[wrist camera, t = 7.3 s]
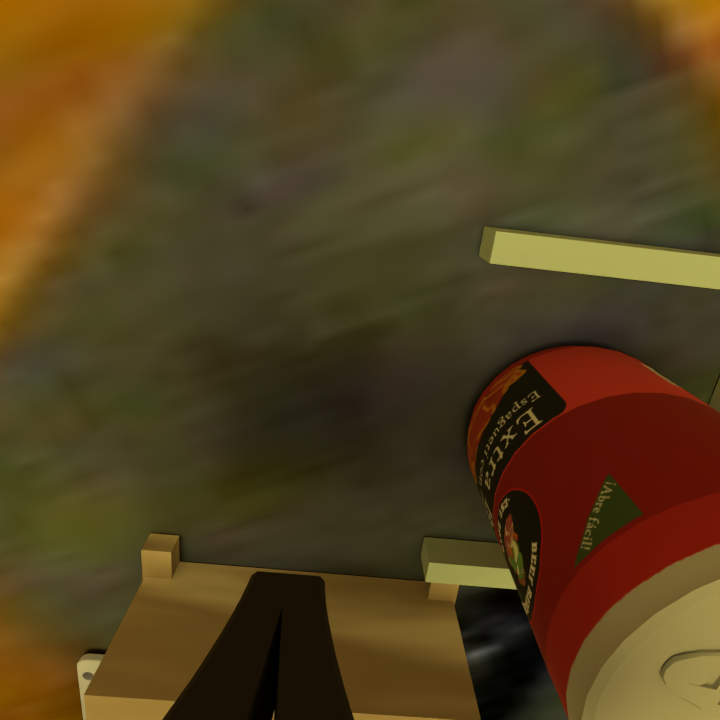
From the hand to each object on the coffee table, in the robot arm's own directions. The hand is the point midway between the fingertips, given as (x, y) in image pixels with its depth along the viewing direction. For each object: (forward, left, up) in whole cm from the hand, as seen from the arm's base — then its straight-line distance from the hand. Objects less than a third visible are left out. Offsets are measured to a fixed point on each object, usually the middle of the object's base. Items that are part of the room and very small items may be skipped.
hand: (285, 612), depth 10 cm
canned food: (0, -10, -10) cm, 14 cm away
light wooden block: (-9, 0, -10) cm, 13 cm away
